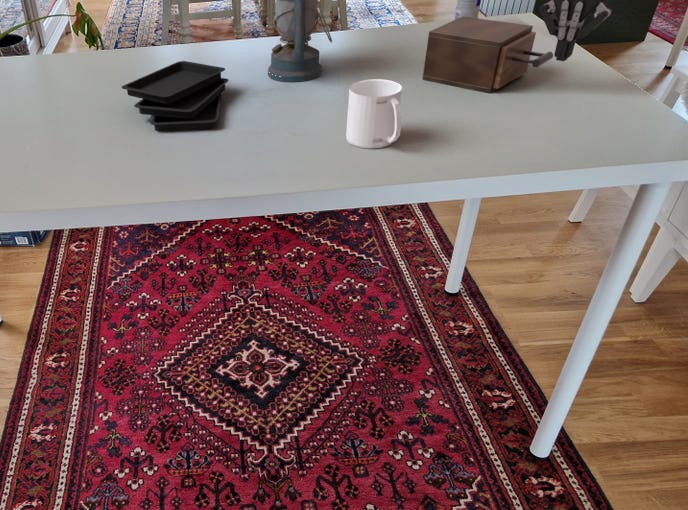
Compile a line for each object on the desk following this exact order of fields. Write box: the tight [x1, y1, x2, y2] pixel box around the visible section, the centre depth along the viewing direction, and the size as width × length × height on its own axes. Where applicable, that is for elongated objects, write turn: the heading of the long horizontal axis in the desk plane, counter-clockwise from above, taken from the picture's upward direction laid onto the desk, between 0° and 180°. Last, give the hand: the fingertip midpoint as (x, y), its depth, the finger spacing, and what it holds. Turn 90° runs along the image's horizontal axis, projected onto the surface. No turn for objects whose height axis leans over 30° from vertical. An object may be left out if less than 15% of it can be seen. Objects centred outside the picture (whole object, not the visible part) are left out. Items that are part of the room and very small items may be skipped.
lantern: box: [267, 0, 333, 83], centre depth 141 cm, size 19×14×30 cm
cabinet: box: [422, 16, 534, 94], centre depth 137 cm, size 16×14×10 cm
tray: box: [121, 60, 230, 132], centre depth 137 cm, size 30×23×5 cm
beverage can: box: [453, 0, 482, 21], centre depth 160 cm, size 6×6×15 cm
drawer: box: [493, 31, 554, 90], centre depth 134 cm, size 20×13×8 cm, turn 44°
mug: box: [345, 78, 403, 150], centre depth 115 cm, size 12×9×9 cm
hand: (561, 59), depth 126 cm, fingers closed
